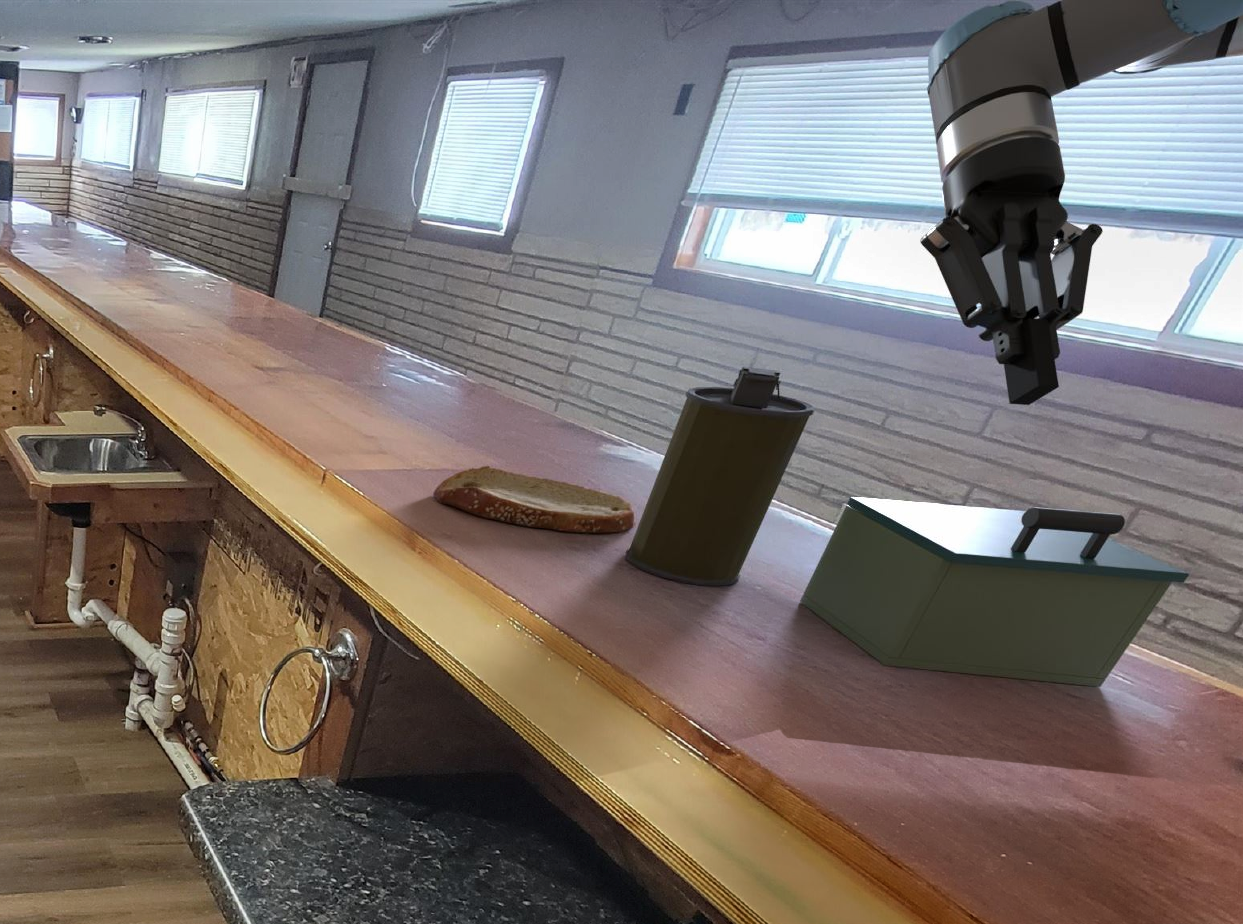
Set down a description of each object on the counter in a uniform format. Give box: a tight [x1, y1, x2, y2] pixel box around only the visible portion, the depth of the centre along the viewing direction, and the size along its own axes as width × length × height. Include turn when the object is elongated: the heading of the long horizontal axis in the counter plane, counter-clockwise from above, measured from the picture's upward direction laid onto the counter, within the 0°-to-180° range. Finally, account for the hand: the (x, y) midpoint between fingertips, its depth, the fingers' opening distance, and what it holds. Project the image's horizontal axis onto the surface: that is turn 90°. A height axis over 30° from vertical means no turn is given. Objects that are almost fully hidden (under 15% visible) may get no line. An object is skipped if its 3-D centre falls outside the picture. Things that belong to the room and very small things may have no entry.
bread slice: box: [433, 465, 636, 534], centre depth 115 cm, size 18×18×4 cm
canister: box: [625, 366, 816, 587], centre depth 97 cm, size 11×10×20 cm
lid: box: [846, 496, 1190, 584], centre depth 82 cm, size 14×17×4 cm
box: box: [799, 505, 1173, 688], centre depth 86 cm, size 14×17×10 cm
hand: (1033, 395), depth 81 cm, fingers closed
